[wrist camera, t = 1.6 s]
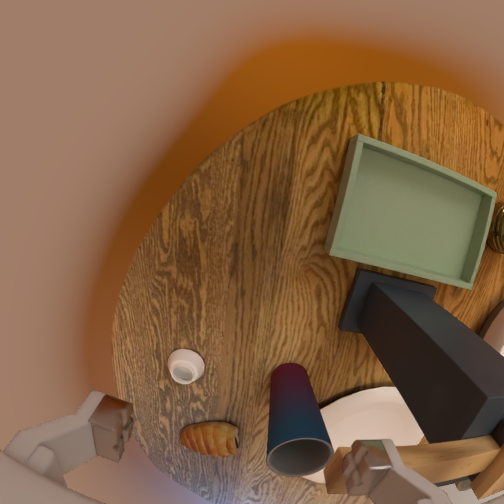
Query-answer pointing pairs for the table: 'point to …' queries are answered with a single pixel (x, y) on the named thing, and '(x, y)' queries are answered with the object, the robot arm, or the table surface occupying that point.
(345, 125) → the table surface
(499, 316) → the bowl
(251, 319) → the table surface
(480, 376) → the stand
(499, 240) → the brass bell weight
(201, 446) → the pastry
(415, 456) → the brush
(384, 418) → the plate
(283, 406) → the cup
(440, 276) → the tray
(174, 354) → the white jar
